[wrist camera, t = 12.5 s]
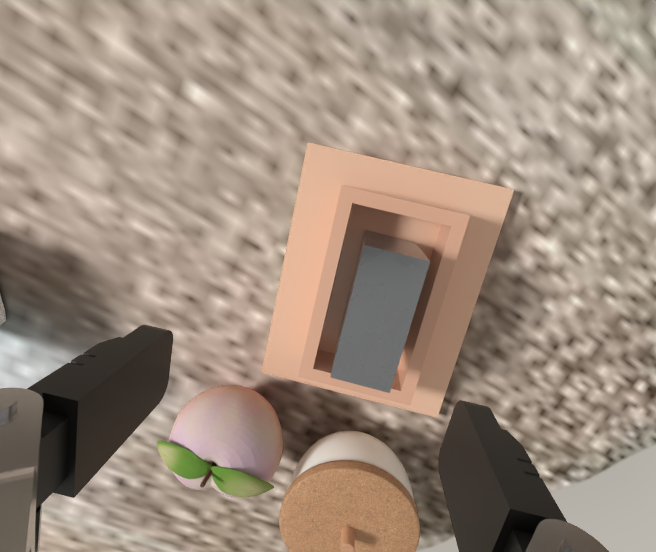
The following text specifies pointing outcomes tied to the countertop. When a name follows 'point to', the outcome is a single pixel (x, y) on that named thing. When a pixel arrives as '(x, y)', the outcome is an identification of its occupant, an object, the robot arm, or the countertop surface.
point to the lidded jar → (349, 499)
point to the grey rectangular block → (379, 311)
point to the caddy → (341, 258)
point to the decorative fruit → (225, 442)
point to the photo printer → (2, 312)
